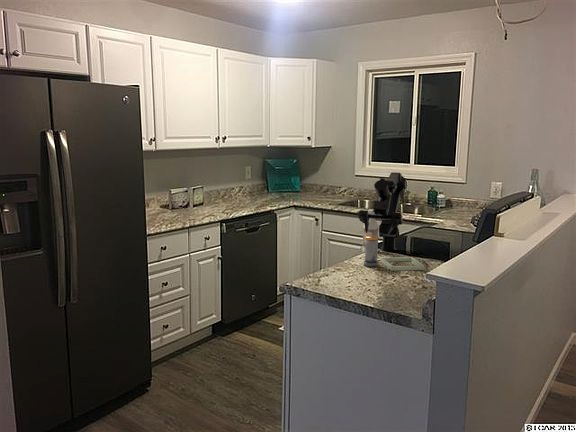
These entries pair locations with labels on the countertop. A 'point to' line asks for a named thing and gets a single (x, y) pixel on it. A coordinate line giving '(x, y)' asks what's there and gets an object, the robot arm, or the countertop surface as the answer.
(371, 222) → the bath foam
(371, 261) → the grey and gold cylinder
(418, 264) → the bin
